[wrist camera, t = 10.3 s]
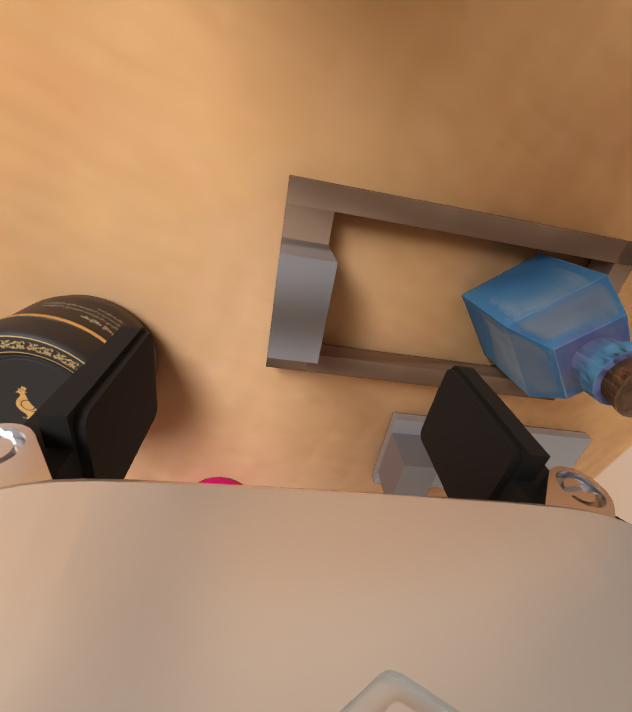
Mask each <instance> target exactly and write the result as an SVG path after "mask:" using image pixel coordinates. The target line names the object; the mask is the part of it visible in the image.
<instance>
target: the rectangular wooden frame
mask: <svg viewBox="0 0 632 712" xmlns="http://www.w3.org/2000/svg"><path fill="white" fill-rule="evenodd" d="M334 212H339V213H345V214H350V215H356V216H361V217H366V218H372V219H377V220H383V221H388V222H394V223H399V224H405V225H410V226H415V227H421V228H426V229H432V230H437V231H443V232H448V233H454V234H459V235H464V236H470V237H475V238H481V239H486V240H492V241H497V242H503V243H508V244H513V245H519V246H524V247H530V248H535V249H541V250H546V251H551V252H557V253H562V254H568V255H573V256H579V257H584V258H590V259H592V260H591V261H590V263H589V265H588V267H587V268H588V269H591V270H594V271H597V272H600V273H603V274H607V275H608V276H609V278H610V280H611V283H612V285H613V287H614V289H615V291H616V293H617V294H618V292H619V290H620V289H621V287H622V285H623V283H624V282H625V280H626V278H627V277H628V275H629V273H630V272H631V270H632V242H631V241H626V240H621V239H616V238H611V237H605V236H600V235H595V234H590V233H585V232H580V231H575V230H570V229H564V228H559V227H554V226H549V225H544V224H539V223H534V222H529V221H523V220H518V219H513V218H508V217H503V216H498V215H493V214H488V213H483V212H477V211H472V210H467V209H462V208H457V207H452V206H447V205H442V204H436V203H431V202H426V201H421V200H416V199H411V198H406V197H401V196H395V195H390V194H385V193H380V192H375V191H370V190H365V189H360V188H354V187H349V186H344V185H339V184H334V183H329V182H324V181H319V180H313V179H308V178H303V177H298V176H293V175H290V176H289V184H288V192H287V200H286V208H285V216H284V225H283V233H282V240H281V248H280V255H279V264H278V272H277V280H276V288H275V296H274V304H273V313H272V321H271V329H270V337H269V345H268V353H267V363H266V367H274V368H283V369H292V370H300V371H309V372H317V373H326V374H334V375H343V376H351V377H360V378H368V379H377V380H385V381H394V382H402V383H411V384H420V385H428V386H437V387H440V384H441V382H442V380H443V377H444V375H445V373H446V371H447V370H448V369H451V368H452V367H453V366H464V367H472V368H474V369H475V370H476V371H477V373H478V374H479V375H480V376H481V377H482V378H483V379H484V381H485V382H486V383H487V384H488V385H489V386H490V388H491V389H492V390H493V391H494V392H495V393H496V394H505V395H513V396H522V397H531V398H539V399H548V400H554V399H555V398H549V397H535V396H528V395H527V394H526V393H525V392H524V391H523V390H522V389H521V388H520V387H519V386H517V385H516V384H515V383H514V382H513V381H512V380H511V379H510V378H509V377H508V376H507V375H506V374H505V373H504V372H503V371H502V370H500V369H499V368H498V367H495V366H487V365H479V364H471V363H464V362H456V361H448V360H440V359H433V358H425V357H417V356H409V355H402V354H394V353H386V352H378V351H371V350H363V349H355V348H347V347H340V346H332V345H324V344H322V339H323V335H324V330H325V325H326V320H327V315H328V310H329V305H330V300H331V295H332V290H333V285H334V280H335V275H336V270H337V265H338V262H337V260H336V258H335V256H334V254H333V252H332V251H331V249H330V247H329V239H330V234H331V229H332V223H333V218H334Z"/></svg>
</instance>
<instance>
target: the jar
mask: <svg viewBox="0 0 632 712" xmlns="http://www.w3.org/2000/svg"><path fill="white" fill-rule="evenodd" d="M123 325H126V326H134V327H142V328H145V327H144V325H143V324H142V323H141V322H140V321H139V320H138V319H137V318H136V317H135V316H134V315H132V314H131V313H130V312H128V311H127V310H125V309H124V308H122V307H120V306H119V305H117V304H115V303H113V302H110V301H108V300H105V299H102V298H98V297H94V296H88V295H68V296H59V297H53V298H48V299H45V300H42V301H39V302H37V303H35V304H32V305H30V306H28V307H26V308H24V309H22V310H21V311H19V312H17V313H15V314H13V315H11V316H7V317H4V318H1V319H0V424H2V423H15V424H22V425H23V424H24V423H25V422H26V421H27V420H28V419H29V418H30V417H31V416H32V415H33V414H34V413H35V412H36V411H37V410H38V409H39V408H40V407H41V406H42V405H43V404H44V403H45V402H46V401H47V400H48V399H49V398H50V396H51V395H52V394H53V393H54V392H55V391H56V390H57V389H58V388H59V387H60V386H61V385H62V384H63V383H64V382H65V381H66V380H67V379H68V378H69V377H70V376H71V375H72V374H73V373H74V372H75V371H76V370H77V369H78V368H80V367H81V366H83V365H84V364H85V363H86V362H87V361H88V360H89V359H90V358H91V357H92V356H93V355H94V354H95V353H96V352H97V351H98V350H99V349H100V348H101V347H102V346H103V345H104V344H105V343H106V341H107V340H108V339H109V338H110V337H111V336H112V335H113V334H114V333H115V332H116V331H117V330H118V329H119V328H120V327H121V326H123ZM145 329H146V328H145ZM146 332H147V333H149V332H148V331H147V329H146ZM153 346H154V362H155V378H156V375H157V367H158V355H157V350H156V346H155V344H154V341H153Z"/></svg>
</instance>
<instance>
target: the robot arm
mask: <svg viewBox="0 0 632 712" xmlns="http://www.w3.org/2000/svg"><path fill="white" fill-rule="evenodd" d="M156 412H157V394H156V378H155V362H154V346H153V336H152V334H151V333H147V332H146V329H145V328H142V327H134V326H126V325H123V326H121V327H120V328H119V329H118V330H117V331H116V332H115V333H114V334H113V335H112V336H111V337H110V338H109V339H108V340H107V341H106V343H105V344H104V345H103V346H102V347H101V348H100V349H99V350H98V351H97V352H96V353H95V354H94V355H93V356H92V357H91V358H90V359H89V360H88V361H87V362H86V363H85V364H84V365H83V366H81V367H80V368H78V369H77V370H76V371H75V372H74V373H73V374H72V375H71V376H70V377H69V378H68V379H67V380H66V381H65V382H64V383H63V384H62V385H61V386H60V387H59V388H58V389H57V390H56V391H55V392H54V393H53V394H52V395H51V396H50V398H49V399H48V400H47V401H46V402H45V403H44V404H43V405H42V406H41V407H40V408H39V409H38V410H37V411H36V412H35V413H34V414H33V415H32V416H31V417H30V418H29V419H28V420H27V421H26V422H25V423H24V424H23V425H22V424H15V423H2V424H0V712H632V524H630V523H627V522H625V521H624V520H622V519H620V518H619V517H617V516H615V509H614V504H613V501H612V499H611V497H610V496H609V494H608V493H607V492H606V491H605V490H604V489H603V488H602V487H601V486H600V485H599V484H598V483H597V482H595V481H594V480H593V479H591V478H590V477H588V476H586V475H585V474H583V473H581V472H579V471H577V470H574V469H572V468H568V467H564V466H555V467H553V468H551V469H550V471H549V469H548V468H547V467H546V466H545V464H546V463H547V462H548V460H549V459H550V457H551V456H550V455H549V454H548V453H547V452H546V451H545V449H544V448H543V447H542V446H541V445H540V444H539V443H538V441H537V440H536V439H535V438H534V437H533V436H532V435H531V433H530V432H529V431H528V430H527V429H526V428H525V427H524V425H523V424H522V423H521V422H520V421H519V420H518V418H517V417H516V416H515V415H514V414H513V413H512V412H511V410H510V409H509V408H508V407H507V406H506V405H505V404H504V402H503V401H502V400H501V399H500V398H499V397H498V396H497V394H496V393H495V392H494V391H493V390H492V389H491V388H490V386H489V385H488V384H487V383H486V382H485V381H484V379H483V378H482V377H481V376H480V375H479V374H478V373H477V371H476V370H475V369H474V368H472V367H464V366H453V367H452V368H451V369H448V370H447V371H446V373H445V375H444V377H443V380H442V382H441V384H440V387H439V389H438V391H437V394H436V396H435V398H434V401H433V403H432V405H431V408H430V410H429V412H428V415H427V417H426V419H425V422H424V424H423V426H422V429H421V433H420V435H421V441H422V443H423V445H424V447H425V449H426V451H427V454H428V456H429V458H430V460H431V462H432V464H433V466H434V468H435V471H436V473H437V475H438V477H439V479H440V481H441V483H442V486H443V488H444V490H445V492H446V494H447V496H448V498H447V497H432V496H417V495H402V494H385V493H369V492H353V491H336V490H319V489H302V488H285V487H266V486H248V485H229V484H211V483H192V482H173V481H155V480H130V479H124V478H125V476H126V474H127V472H128V470H129V468H130V466H131V464H132V462H133V460H134V458H135V456H136V454H137V452H138V450H139V448H140V446H141V444H142V442H143V440H144V438H145V436H146V434H147V432H148V430H149V428H150V426H151V424H152V422H153V420H154V418H155V416H156Z"/></svg>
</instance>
